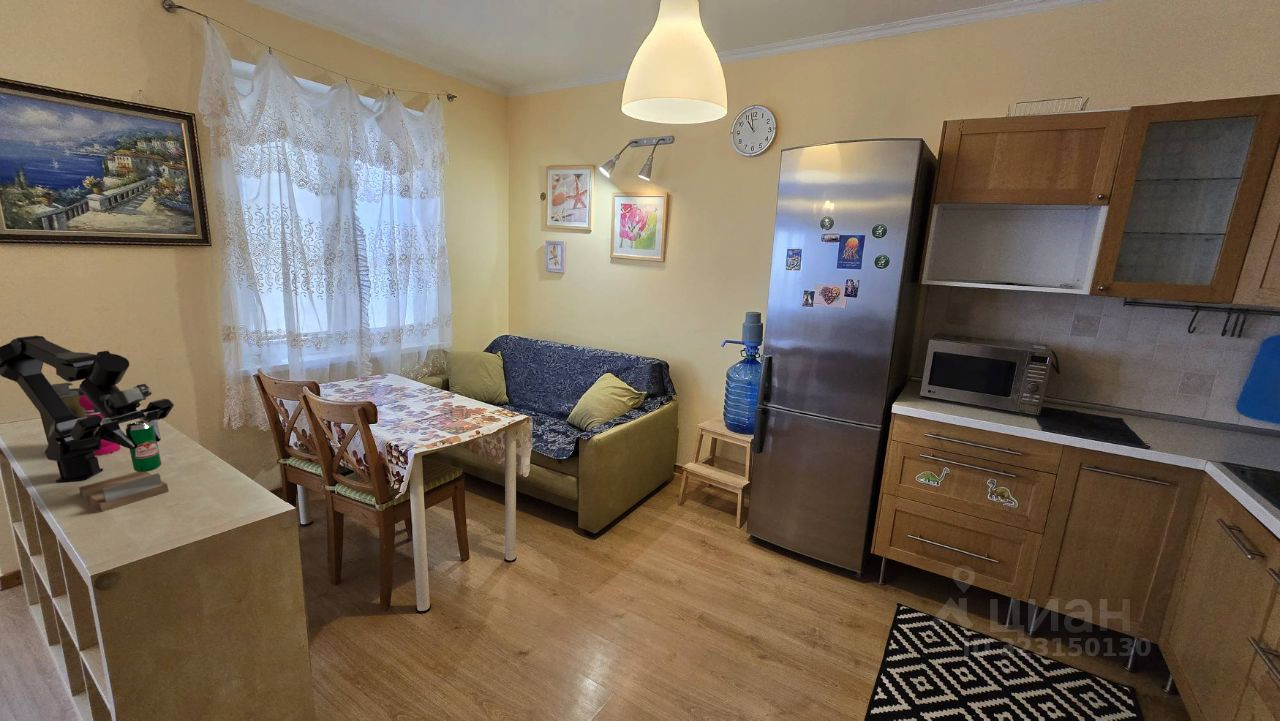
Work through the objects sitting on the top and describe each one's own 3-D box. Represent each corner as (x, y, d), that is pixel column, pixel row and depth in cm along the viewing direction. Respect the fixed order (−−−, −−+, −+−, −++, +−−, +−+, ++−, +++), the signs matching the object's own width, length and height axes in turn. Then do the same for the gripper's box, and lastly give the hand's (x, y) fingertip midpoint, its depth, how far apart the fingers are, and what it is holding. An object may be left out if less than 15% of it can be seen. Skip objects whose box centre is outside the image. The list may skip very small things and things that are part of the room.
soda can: (139, 474, 126) (129, 428, 124) (130, 470, 129) (120, 424, 126) (165, 467, 131) (156, 421, 128) (156, 463, 133) (147, 418, 130)
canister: (97, 439, 164) (83, 378, 160) (101, 447, 158) (86, 383, 153) (45, 449, 156) (29, 385, 151) (48, 458, 149) (30, 391, 145)
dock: (80, 494, 128) (76, 475, 127) (144, 476, 138) (140, 459, 137) (102, 511, 120) (97, 491, 119) (168, 491, 130) (164, 472, 129)
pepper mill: (83, 454, 153) (67, 388, 148) (114, 445, 159) (100, 382, 155) (96, 457, 150) (80, 391, 146) (128, 449, 156) (113, 384, 152)
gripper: (67, 386, 117) (111, 438, 116) (162, 368, 134) (200, 413, 134) (52, 416, 120) (94, 466, 120) (146, 394, 138) (183, 438, 138)
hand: (146, 444), depth 128 cm, fingers closed on soda can, 5 cm apart
